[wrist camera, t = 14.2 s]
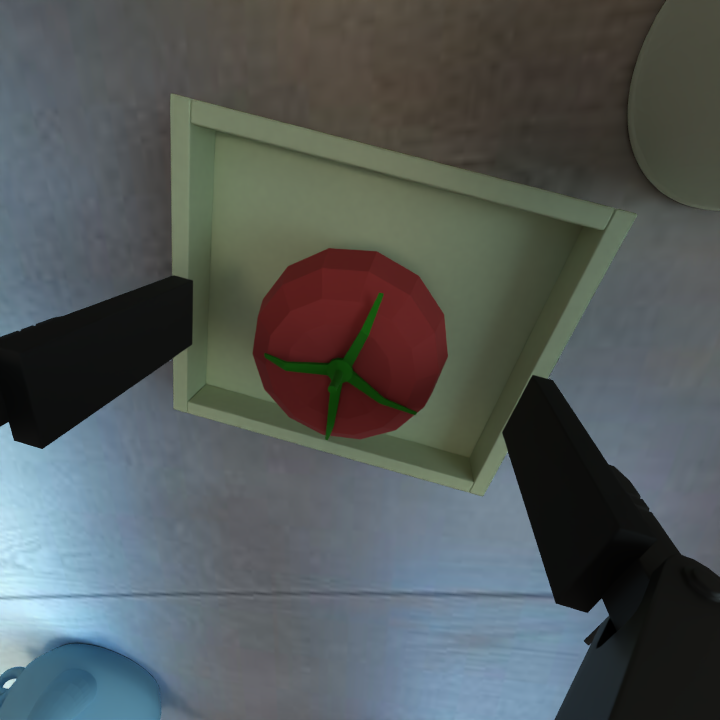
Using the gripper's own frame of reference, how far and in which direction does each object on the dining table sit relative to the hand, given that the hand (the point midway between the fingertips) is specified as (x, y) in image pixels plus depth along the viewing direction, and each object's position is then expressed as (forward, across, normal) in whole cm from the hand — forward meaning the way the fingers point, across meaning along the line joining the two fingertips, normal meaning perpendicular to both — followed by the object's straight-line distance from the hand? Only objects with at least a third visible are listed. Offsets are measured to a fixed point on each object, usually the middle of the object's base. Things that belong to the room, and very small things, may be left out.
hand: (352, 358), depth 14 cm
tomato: (+5, 0, 0) cm, 5 cm away
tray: (+5, 0, 0) cm, 5 cm away
